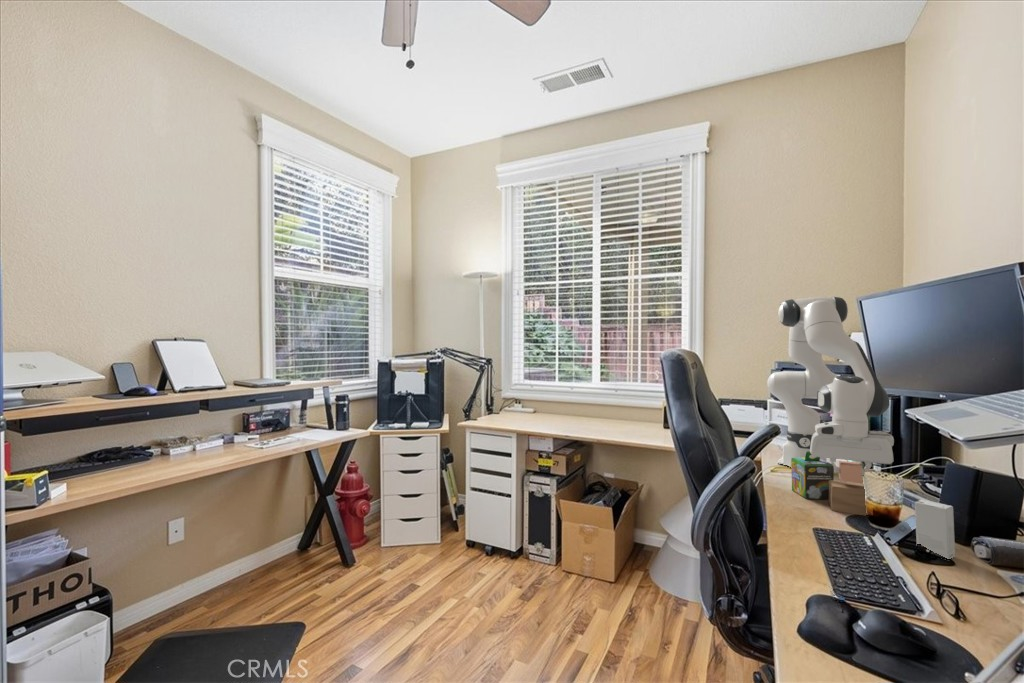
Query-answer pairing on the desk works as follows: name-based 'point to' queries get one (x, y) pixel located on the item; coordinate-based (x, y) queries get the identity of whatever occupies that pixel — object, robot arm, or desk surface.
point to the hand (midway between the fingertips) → (850, 474)
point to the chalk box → (811, 476)
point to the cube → (850, 472)
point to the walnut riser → (847, 497)
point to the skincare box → (935, 527)
